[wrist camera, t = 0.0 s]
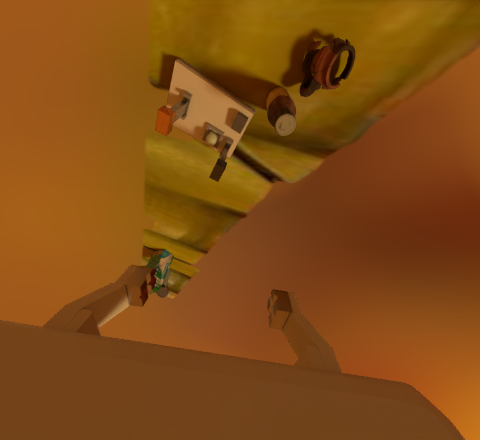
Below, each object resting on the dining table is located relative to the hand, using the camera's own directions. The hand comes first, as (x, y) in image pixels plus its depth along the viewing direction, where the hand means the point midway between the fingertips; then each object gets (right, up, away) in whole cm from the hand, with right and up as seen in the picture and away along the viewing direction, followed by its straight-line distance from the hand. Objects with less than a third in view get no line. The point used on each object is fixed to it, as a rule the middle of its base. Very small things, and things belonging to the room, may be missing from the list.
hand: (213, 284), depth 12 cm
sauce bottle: (+12, +37, +35) cm, 53 cm away
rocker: (+2, +31, +35) cm, 47 cm away
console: (-7, +36, +39) cm, 54 cm away
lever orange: (-13, +35, +34) cm, 50 cm away
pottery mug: (+21, +41, +30) cm, 55 cm away
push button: (-6, +30, +40) cm, 50 cm away
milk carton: (-48, -18, +101) cm, 113 cm away
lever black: (-2, +27, +41) cm, 49 cm away
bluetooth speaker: (-64, -48, +135) cm, 157 cm away
